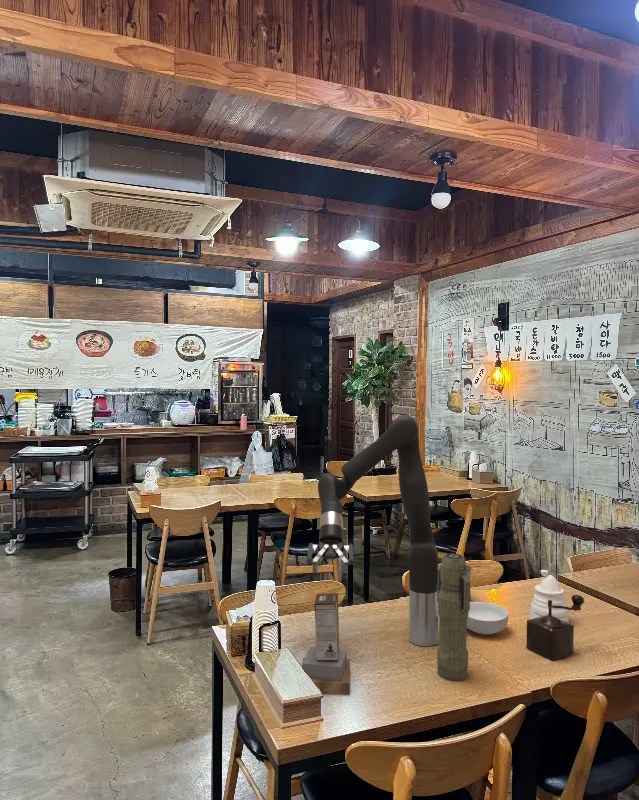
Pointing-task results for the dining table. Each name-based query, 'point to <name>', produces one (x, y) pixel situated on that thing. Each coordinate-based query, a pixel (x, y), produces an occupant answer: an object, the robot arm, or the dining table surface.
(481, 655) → the dining table surface
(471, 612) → the cereal bowl
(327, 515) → the robot arm
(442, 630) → the thermos
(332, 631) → the coffee box
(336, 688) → the walnut base block
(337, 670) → the grey square block
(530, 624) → the manual coffee grinder
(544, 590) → the honey pot
